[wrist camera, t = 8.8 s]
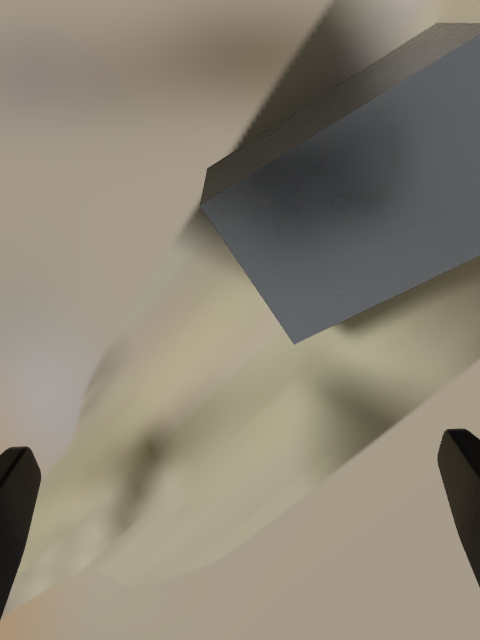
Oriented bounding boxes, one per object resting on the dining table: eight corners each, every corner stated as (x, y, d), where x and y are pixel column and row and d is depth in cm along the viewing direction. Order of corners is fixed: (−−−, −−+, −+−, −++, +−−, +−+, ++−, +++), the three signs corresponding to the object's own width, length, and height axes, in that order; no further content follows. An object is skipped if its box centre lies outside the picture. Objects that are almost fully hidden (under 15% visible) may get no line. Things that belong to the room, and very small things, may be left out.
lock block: (207, 168, 18) (199, 205, 14) (435, 22, 15) (496, 23, 12) (284, 288, 21) (293, 344, 17) (486, 183, 18) (547, 223, 14)
